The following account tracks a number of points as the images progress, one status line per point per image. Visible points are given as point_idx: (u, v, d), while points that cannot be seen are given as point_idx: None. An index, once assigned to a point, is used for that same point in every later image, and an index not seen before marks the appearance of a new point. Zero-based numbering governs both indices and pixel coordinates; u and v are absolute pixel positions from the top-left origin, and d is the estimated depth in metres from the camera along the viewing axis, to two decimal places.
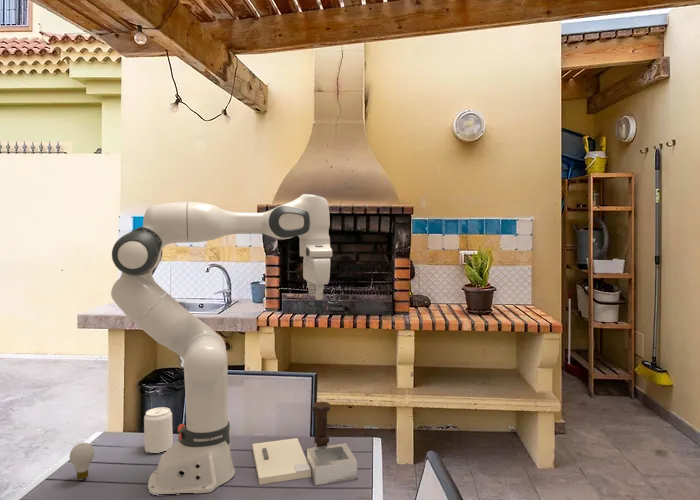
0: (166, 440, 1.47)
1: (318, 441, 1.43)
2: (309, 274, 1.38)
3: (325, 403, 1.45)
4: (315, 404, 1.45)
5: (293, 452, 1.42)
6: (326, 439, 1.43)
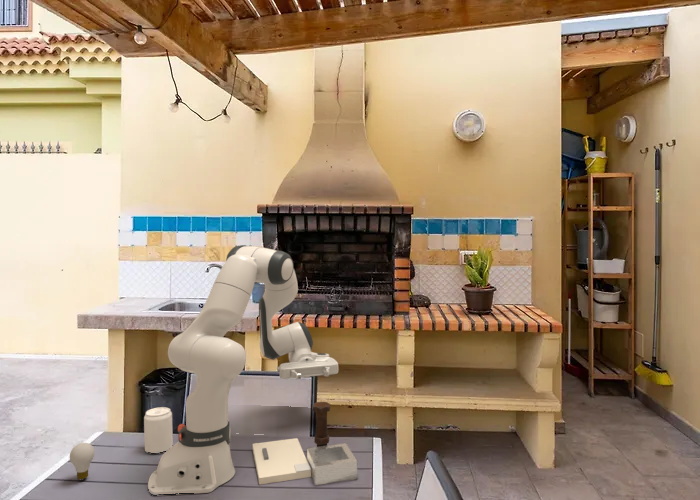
0: (166, 440, 1.47)
1: (318, 441, 1.43)
2: (310, 364, 1.64)
3: (325, 403, 1.45)
4: (315, 404, 1.45)
5: (293, 452, 1.42)
6: (326, 439, 1.43)
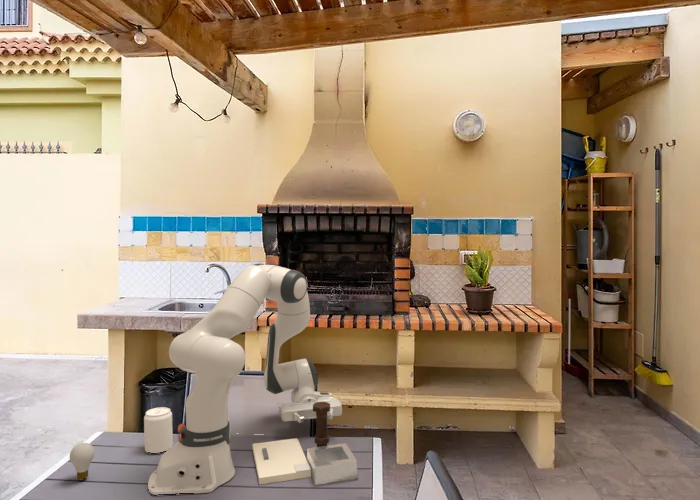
0: (166, 440, 1.47)
1: (318, 441, 1.43)
2: None
3: (325, 403, 1.45)
4: (315, 404, 1.45)
5: (293, 452, 1.42)
6: (326, 439, 1.43)
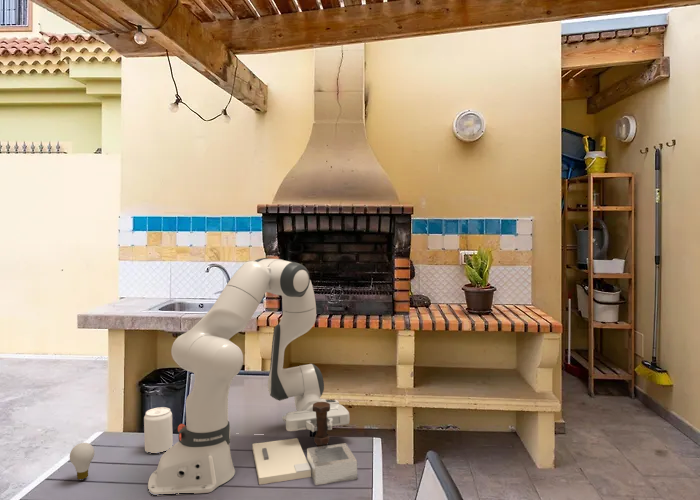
0: (166, 440, 1.47)
1: (318, 441, 1.43)
2: None
3: (325, 403, 1.45)
4: (315, 404, 1.45)
5: (293, 452, 1.42)
6: (326, 439, 1.43)
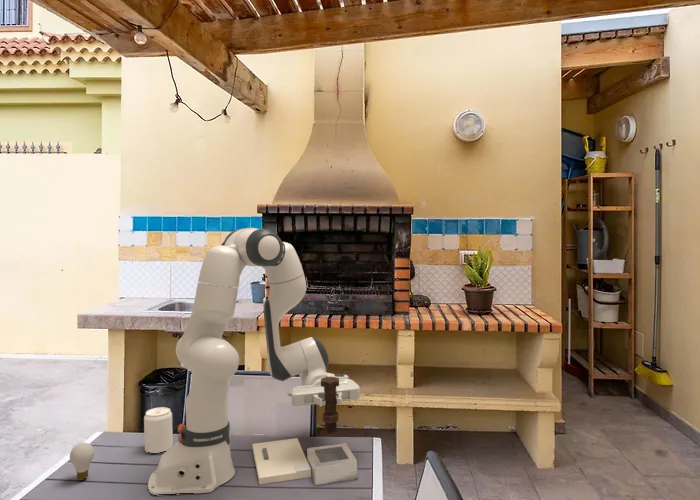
0: (166, 440, 1.47)
1: (327, 419, 1.31)
2: None
3: (334, 378, 1.34)
4: (323, 379, 1.33)
5: (293, 452, 1.42)
6: (335, 417, 1.31)
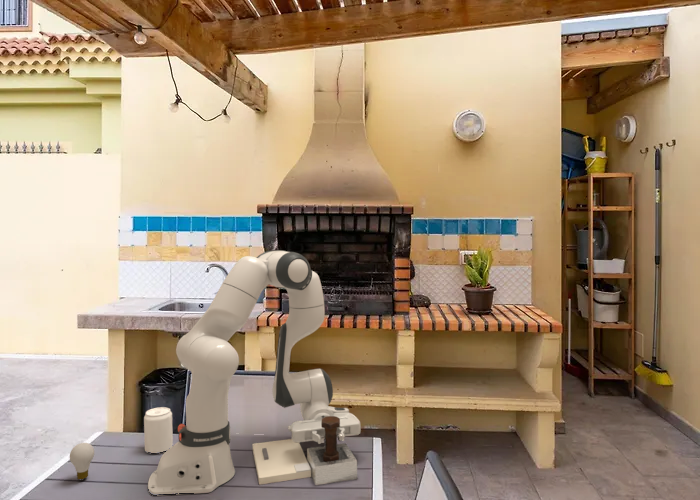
0: (166, 440, 1.47)
1: (327, 460, 1.31)
2: None
3: (335, 418, 1.33)
4: (324, 419, 1.32)
5: (293, 452, 1.42)
6: (336, 457, 1.31)
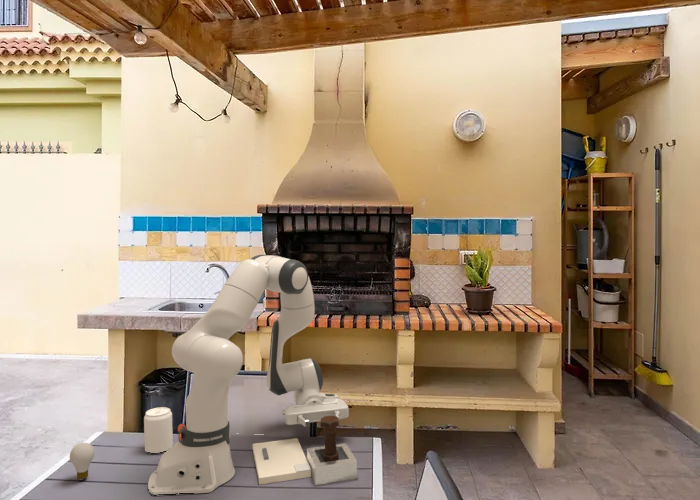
0: (166, 440, 1.47)
1: (327, 459, 1.31)
2: (318, 408, 1.52)
3: (334, 418, 1.34)
4: (323, 419, 1.33)
5: (293, 452, 1.42)
6: (336, 456, 1.32)
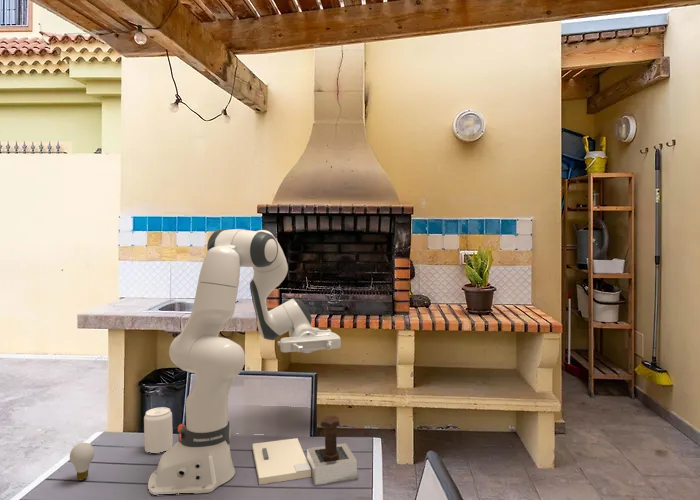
0: (166, 440, 1.47)
1: (327, 459, 1.31)
2: (312, 338, 1.60)
3: (334, 418, 1.34)
4: (323, 419, 1.33)
5: (293, 452, 1.42)
6: (336, 456, 1.32)
